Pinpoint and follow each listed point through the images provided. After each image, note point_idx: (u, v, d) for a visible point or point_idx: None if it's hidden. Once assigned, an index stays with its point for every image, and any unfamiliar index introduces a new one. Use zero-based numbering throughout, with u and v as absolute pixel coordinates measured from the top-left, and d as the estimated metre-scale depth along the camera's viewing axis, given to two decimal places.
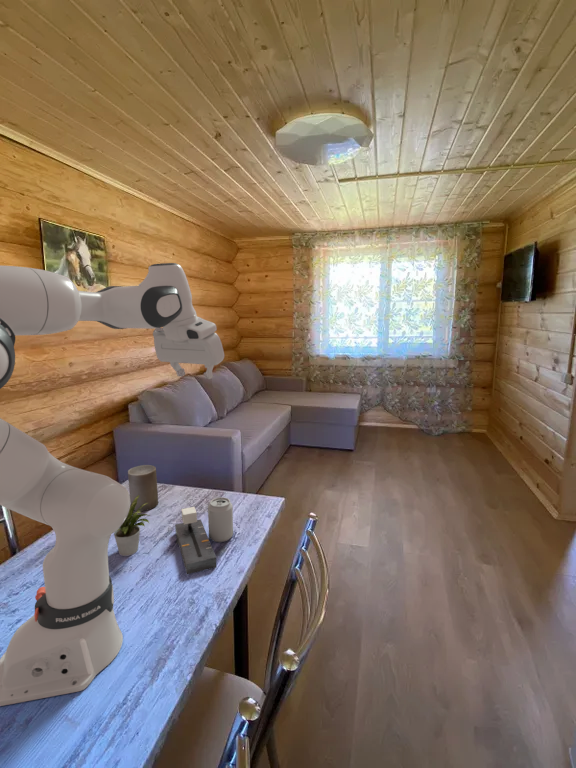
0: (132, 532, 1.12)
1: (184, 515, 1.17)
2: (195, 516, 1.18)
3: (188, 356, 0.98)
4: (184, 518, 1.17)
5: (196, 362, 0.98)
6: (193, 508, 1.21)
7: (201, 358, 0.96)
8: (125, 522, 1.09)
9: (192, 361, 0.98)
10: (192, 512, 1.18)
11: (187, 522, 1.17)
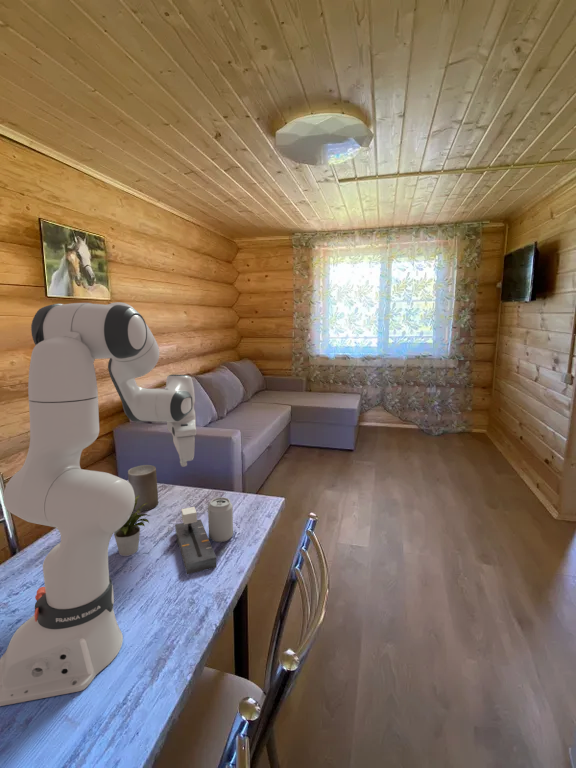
0: (132, 532, 1.12)
1: (184, 515, 1.17)
2: (195, 516, 1.18)
3: (177, 446, 1.21)
4: (184, 518, 1.17)
5: (178, 453, 1.20)
6: (193, 508, 1.21)
7: (179, 452, 1.18)
8: None
9: (178, 451, 1.21)
10: (192, 512, 1.18)
11: (187, 522, 1.17)
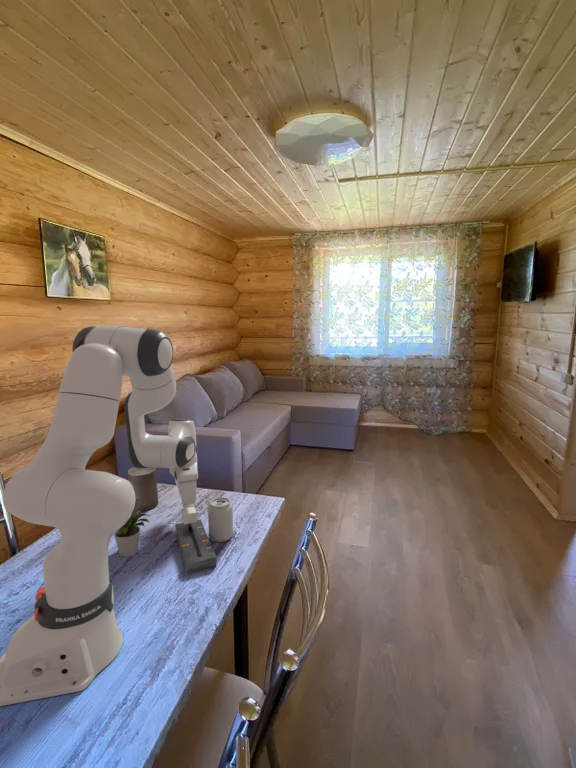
0: (132, 532, 1.12)
1: (184, 515, 1.17)
2: (195, 516, 1.18)
3: (179, 488, 1.24)
4: (184, 518, 1.17)
5: (180, 495, 1.22)
6: (193, 508, 1.21)
7: (181, 495, 1.20)
8: None
9: None
10: (192, 512, 1.18)
11: (187, 522, 1.17)
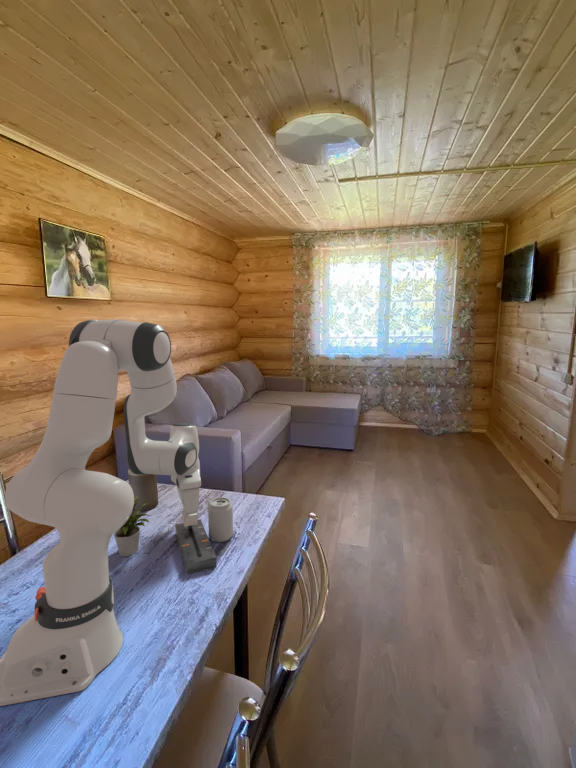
0: (132, 532, 1.12)
1: (185, 517, 1.16)
2: (196, 518, 1.17)
3: (181, 496, 1.19)
4: (185, 520, 1.16)
5: (182, 504, 1.17)
6: None
7: (183, 503, 1.15)
8: None
9: None
10: (193, 514, 1.17)
11: (188, 524, 1.16)
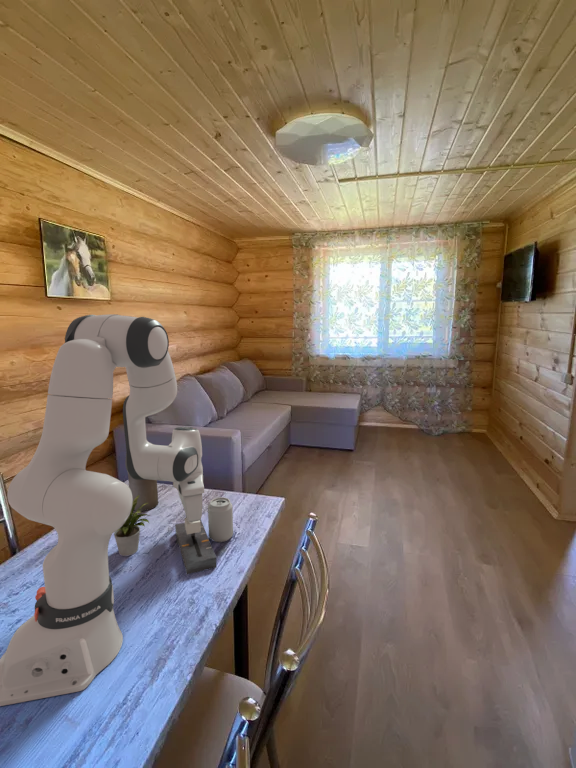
0: (132, 532, 1.12)
1: (187, 525, 1.11)
2: (199, 525, 1.13)
3: (183, 503, 1.14)
4: (187, 528, 1.11)
5: None
6: None
7: (185, 510, 1.11)
8: (125, 522, 1.09)
9: (184, 508, 1.14)
10: (196, 521, 1.13)
11: (190, 532, 1.12)
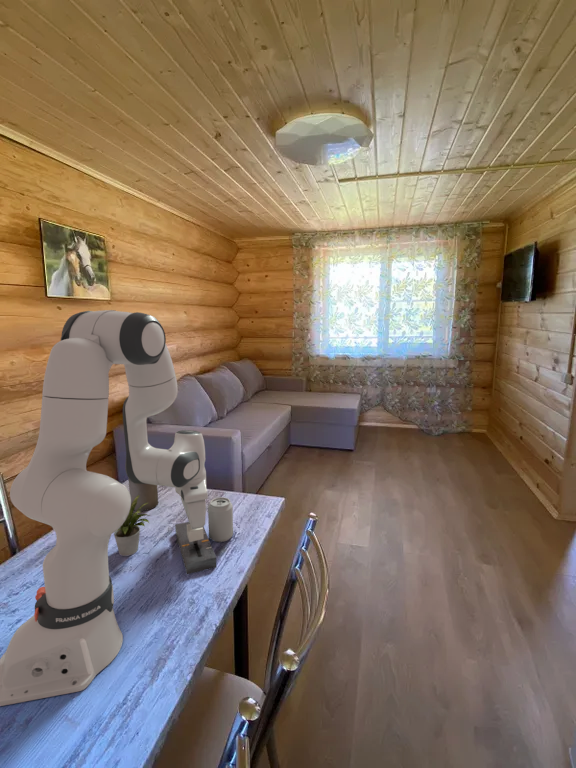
0: (132, 532, 1.12)
1: (190, 532, 1.08)
2: (202, 533, 1.09)
3: (186, 508, 1.11)
4: (190, 535, 1.08)
5: None
6: None
7: (188, 516, 1.07)
8: (125, 522, 1.09)
9: None
10: (198, 528, 1.09)
11: (193, 539, 1.08)
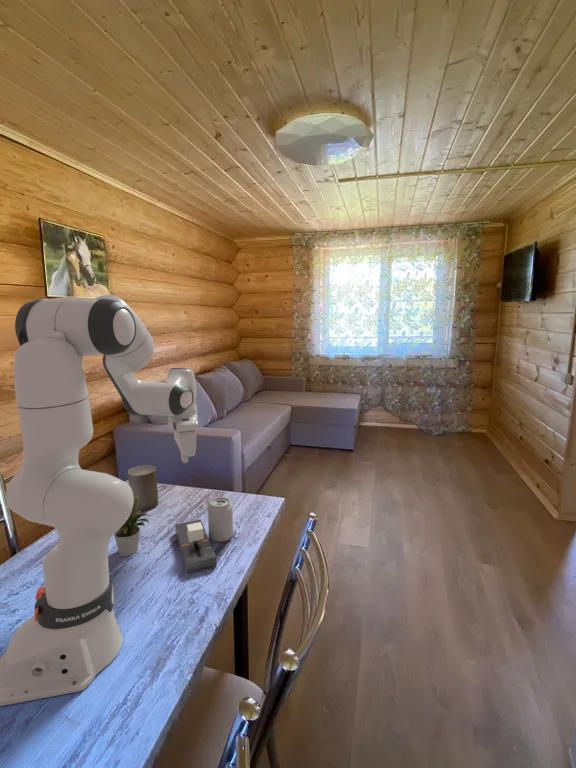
0: (132, 532, 1.12)
1: (190, 532, 1.08)
2: (202, 533, 1.09)
3: (178, 442, 1.18)
4: (190, 535, 1.08)
5: (179, 448, 1.17)
6: (199, 524, 1.11)
7: (180, 447, 1.15)
8: (125, 522, 1.09)
9: (179, 447, 1.18)
10: (198, 528, 1.09)
11: (193, 539, 1.08)
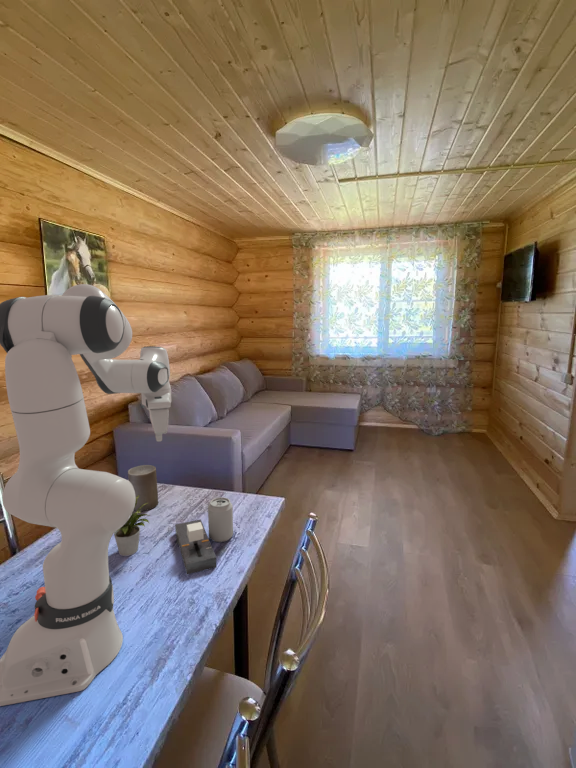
0: (132, 532, 1.12)
1: (190, 532, 1.08)
2: (202, 533, 1.09)
3: None
4: (190, 535, 1.08)
5: None
6: (199, 524, 1.11)
7: None
8: None
9: None
10: (198, 528, 1.09)
11: (193, 539, 1.08)
